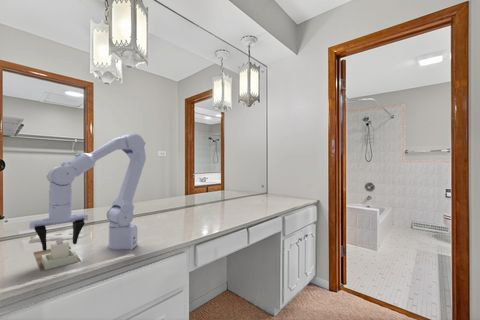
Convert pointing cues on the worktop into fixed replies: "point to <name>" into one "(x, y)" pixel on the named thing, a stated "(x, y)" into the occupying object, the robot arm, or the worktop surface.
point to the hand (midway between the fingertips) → (60, 246)
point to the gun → (55, 237)
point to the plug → (59, 249)
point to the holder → (59, 260)
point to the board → (39, 254)
